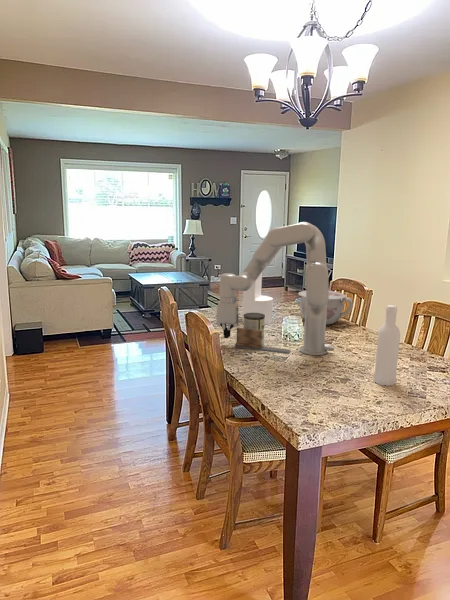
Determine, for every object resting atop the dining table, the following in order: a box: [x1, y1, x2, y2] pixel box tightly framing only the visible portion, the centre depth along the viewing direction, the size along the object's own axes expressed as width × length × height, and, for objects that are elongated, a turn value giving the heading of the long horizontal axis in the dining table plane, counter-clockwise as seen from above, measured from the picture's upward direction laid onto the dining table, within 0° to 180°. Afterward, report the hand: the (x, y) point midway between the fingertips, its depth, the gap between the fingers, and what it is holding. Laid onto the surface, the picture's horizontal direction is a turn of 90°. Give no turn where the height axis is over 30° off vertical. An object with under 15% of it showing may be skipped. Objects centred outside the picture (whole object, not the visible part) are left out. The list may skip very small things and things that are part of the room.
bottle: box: [373, 304, 401, 387], centre depth 169 cm, size 8×8×30 cm
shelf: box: [235, 327, 263, 348], centre depth 211 cm, size 12×3×8 cm, turn 71°
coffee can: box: [243, 313, 265, 346], centre depth 218 cm, size 10×10×14 cm
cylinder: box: [241, 272, 274, 326], centre depth 259 cm, size 17×17×28 cm
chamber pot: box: [297, 289, 354, 326], centre depth 260 cm, size 28×28×21 cm
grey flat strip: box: [235, 344, 291, 355], centre depth 209 cm, size 26×4×1 cm, turn 71°
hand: (226, 337), depth 214 cm, fingers closed
